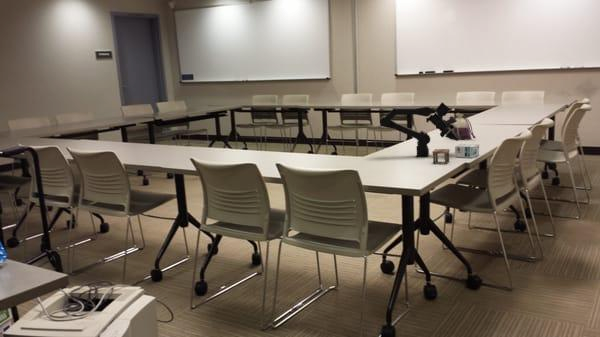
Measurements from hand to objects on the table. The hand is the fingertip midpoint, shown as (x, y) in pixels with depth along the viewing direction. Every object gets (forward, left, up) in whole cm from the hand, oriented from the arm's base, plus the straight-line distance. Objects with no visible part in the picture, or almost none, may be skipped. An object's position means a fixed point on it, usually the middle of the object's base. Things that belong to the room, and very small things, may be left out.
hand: (458, 140), depth 309 cm
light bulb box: (0, -1, -6) cm, 6 cm away
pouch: (-9, +65, -9) cm, 66 cm away
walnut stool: (-6, -22, -9) cm, 24 cm away
